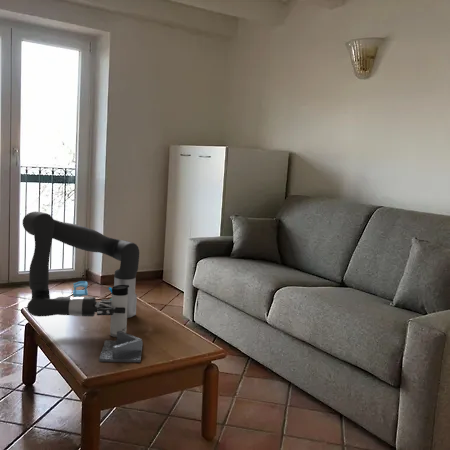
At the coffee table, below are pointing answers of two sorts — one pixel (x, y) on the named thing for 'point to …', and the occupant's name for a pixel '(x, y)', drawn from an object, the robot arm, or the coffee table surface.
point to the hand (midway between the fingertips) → (125, 307)
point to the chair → (80, 292)
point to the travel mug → (119, 301)
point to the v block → (122, 349)
